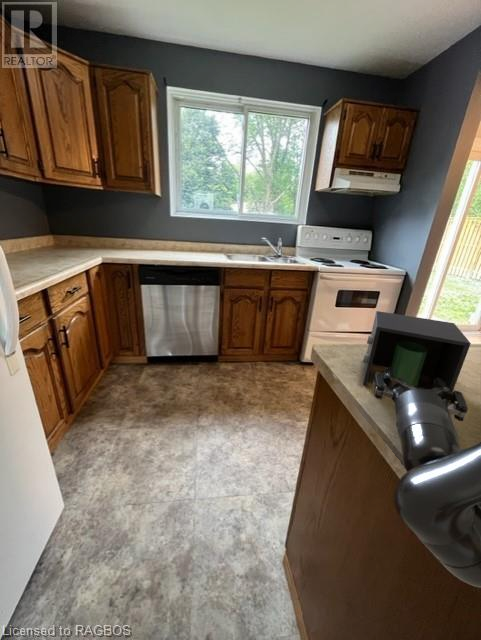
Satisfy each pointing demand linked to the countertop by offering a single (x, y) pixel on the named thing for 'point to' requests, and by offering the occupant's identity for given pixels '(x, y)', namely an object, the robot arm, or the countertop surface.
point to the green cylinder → (408, 361)
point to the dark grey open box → (435, 335)
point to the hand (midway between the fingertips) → (411, 375)
